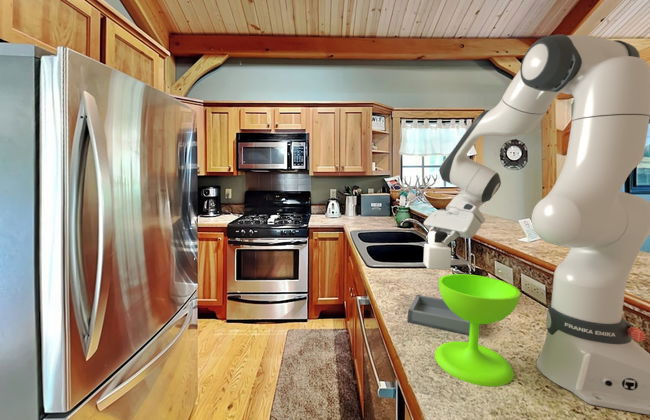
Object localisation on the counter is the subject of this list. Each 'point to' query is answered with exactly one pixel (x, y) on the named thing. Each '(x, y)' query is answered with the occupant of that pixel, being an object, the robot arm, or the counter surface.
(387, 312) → the counter surface
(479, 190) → the robot arm
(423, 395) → the counter surface
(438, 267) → the medicine bottle
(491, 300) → the wineglass
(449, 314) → the parts tray
